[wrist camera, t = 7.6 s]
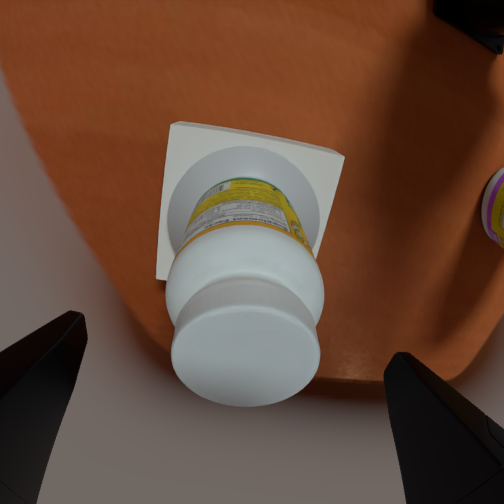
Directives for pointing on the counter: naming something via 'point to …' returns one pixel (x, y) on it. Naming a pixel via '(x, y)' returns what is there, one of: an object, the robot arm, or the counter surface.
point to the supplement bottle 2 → (494, 208)
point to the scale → (242, 164)
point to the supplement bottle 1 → (245, 297)
